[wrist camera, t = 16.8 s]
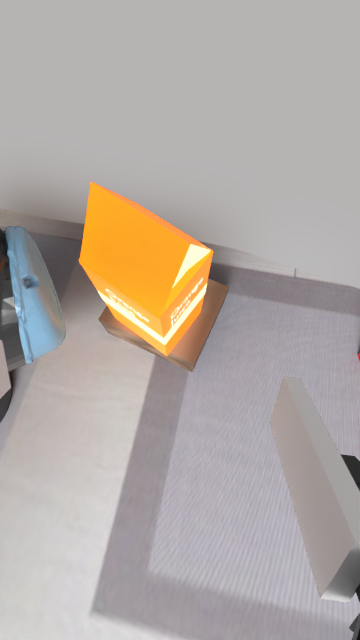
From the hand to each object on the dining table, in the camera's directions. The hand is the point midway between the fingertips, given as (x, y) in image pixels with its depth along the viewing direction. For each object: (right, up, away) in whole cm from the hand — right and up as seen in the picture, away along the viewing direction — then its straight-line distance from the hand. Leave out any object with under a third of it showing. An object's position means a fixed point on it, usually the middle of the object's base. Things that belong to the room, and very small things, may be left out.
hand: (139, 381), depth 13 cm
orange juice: (-1, +4, +24) cm, 25 cm away
